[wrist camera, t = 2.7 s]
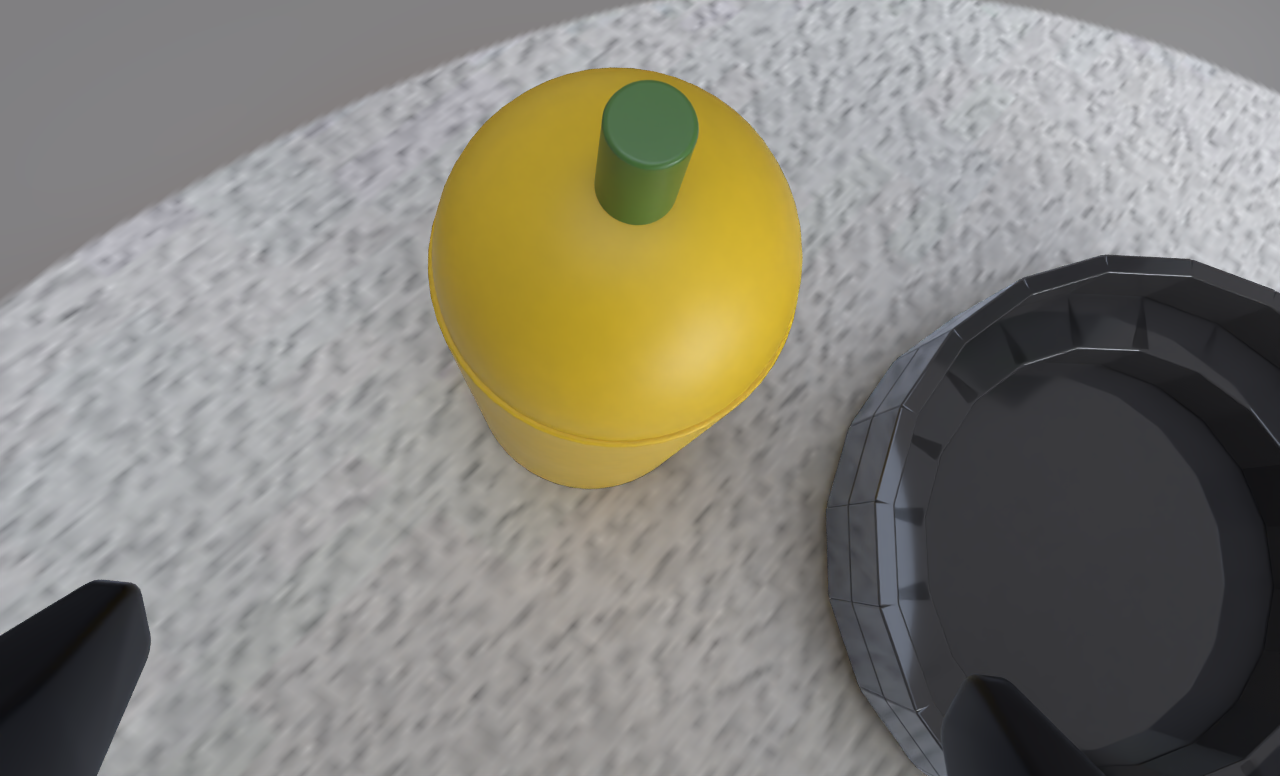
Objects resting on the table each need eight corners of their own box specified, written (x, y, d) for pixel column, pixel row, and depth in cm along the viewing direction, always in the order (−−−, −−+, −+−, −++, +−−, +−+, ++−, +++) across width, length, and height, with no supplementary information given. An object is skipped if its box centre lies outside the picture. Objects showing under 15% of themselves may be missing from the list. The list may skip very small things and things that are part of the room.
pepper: (743, 405, 23) (1023, 200, 10) (561, 534, 22) (579, 513, 8) (618, 231, 24) (710, -200, 10) (433, 347, 23) (252, 36, 9)
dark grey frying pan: (1417, 617, 24) (1584, 630, 20) (1052, 968, 21) (1165, 1063, 17) (1097, 211, 26) (1195, 151, 22) (713, 489, 23) (747, 477, 19)
